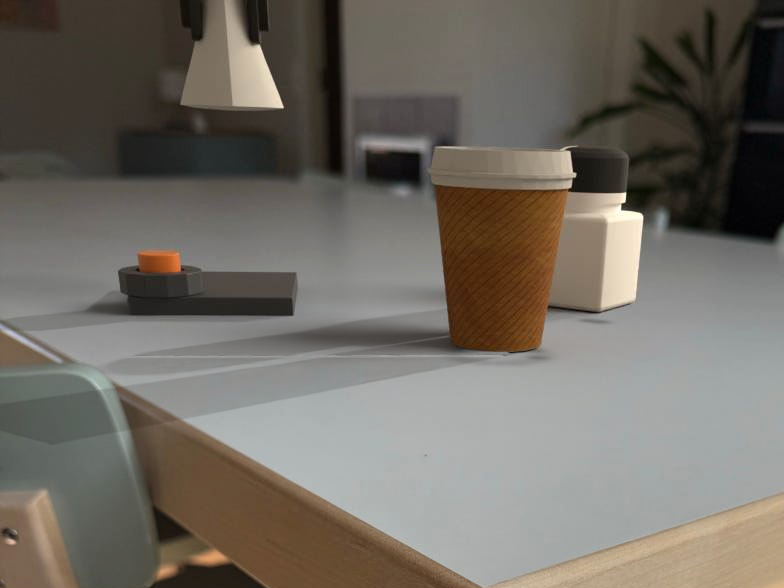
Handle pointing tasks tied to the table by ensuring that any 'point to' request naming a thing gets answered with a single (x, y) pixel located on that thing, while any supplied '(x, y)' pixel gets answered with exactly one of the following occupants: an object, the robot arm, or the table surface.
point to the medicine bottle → (597, 235)
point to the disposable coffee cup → (499, 240)
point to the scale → (209, 292)
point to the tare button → (159, 261)
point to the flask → (228, 63)
